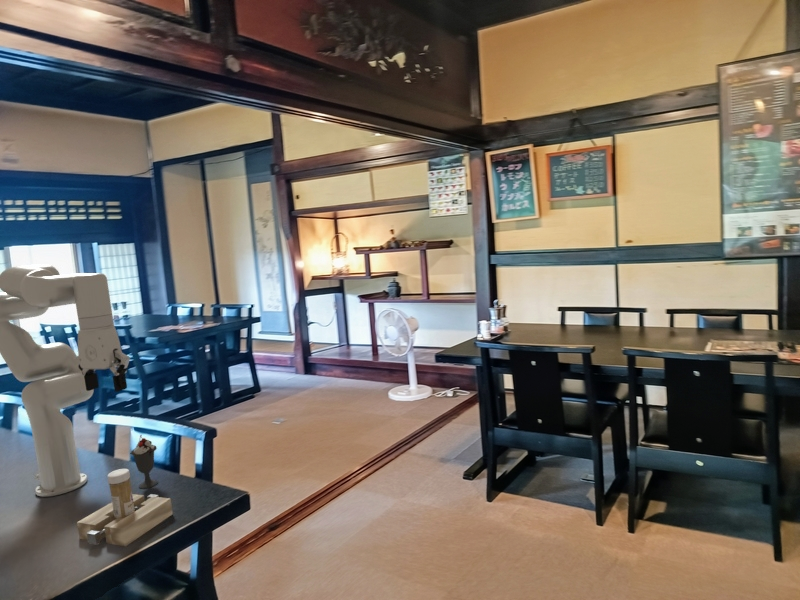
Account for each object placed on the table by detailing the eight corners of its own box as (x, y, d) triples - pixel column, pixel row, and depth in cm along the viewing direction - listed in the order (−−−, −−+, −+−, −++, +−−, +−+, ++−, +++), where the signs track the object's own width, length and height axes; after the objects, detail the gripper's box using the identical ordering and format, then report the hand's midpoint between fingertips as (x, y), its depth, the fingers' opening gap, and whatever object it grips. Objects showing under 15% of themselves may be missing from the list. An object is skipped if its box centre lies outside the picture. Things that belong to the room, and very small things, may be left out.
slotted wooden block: (79, 538, 123) (77, 522, 123) (129, 508, 136) (127, 493, 136) (125, 546, 118) (122, 529, 118) (172, 514, 131) (170, 498, 131)
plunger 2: (130, 516, 130) (129, 507, 129) (152, 503, 136) (151, 494, 136) (137, 518, 129) (136, 508, 129) (159, 504, 135) (158, 495, 135)
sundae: (144, 492, 145) (136, 438, 143) (130, 487, 149) (122, 435, 147) (166, 481, 151) (159, 430, 149) (152, 477, 154) (144, 427, 153)
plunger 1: (88, 543, 119) (86, 533, 119) (114, 527, 125) (112, 517, 125) (96, 544, 118) (94, 534, 118) (122, 528, 125) (120, 518, 124)
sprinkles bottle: (138, 526, 127) (130, 472, 125) (116, 533, 124) (108, 478, 123) (135, 518, 131) (127, 466, 129) (114, 525, 128) (106, 471, 127)
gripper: (57, 326, 134) (68, 393, 136) (109, 324, 128) (119, 395, 130) (84, 321, 141) (94, 384, 143) (134, 319, 135) (144, 386, 137)
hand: (106, 389), depth 136 cm, fingers open, 9 cm apart
